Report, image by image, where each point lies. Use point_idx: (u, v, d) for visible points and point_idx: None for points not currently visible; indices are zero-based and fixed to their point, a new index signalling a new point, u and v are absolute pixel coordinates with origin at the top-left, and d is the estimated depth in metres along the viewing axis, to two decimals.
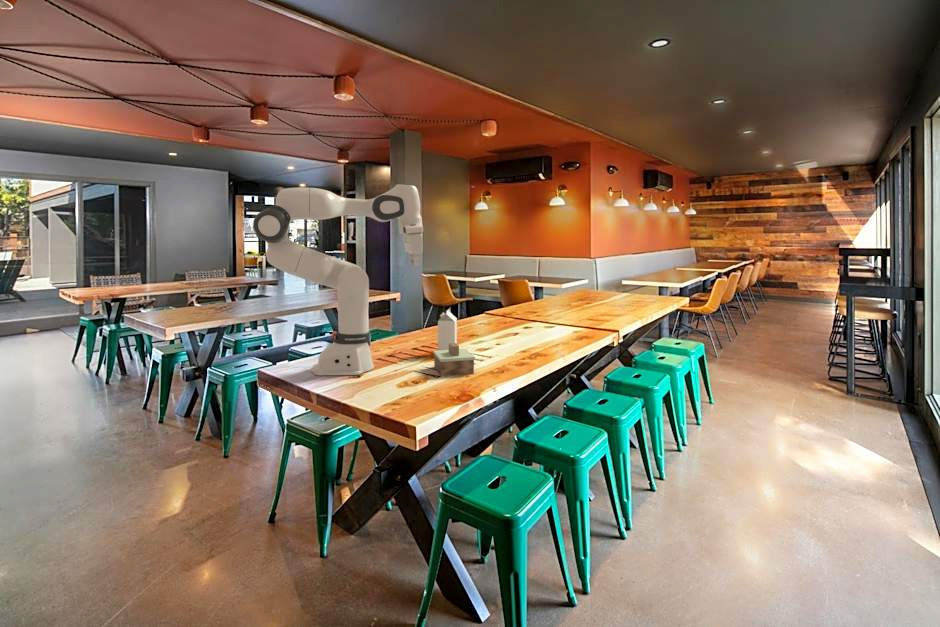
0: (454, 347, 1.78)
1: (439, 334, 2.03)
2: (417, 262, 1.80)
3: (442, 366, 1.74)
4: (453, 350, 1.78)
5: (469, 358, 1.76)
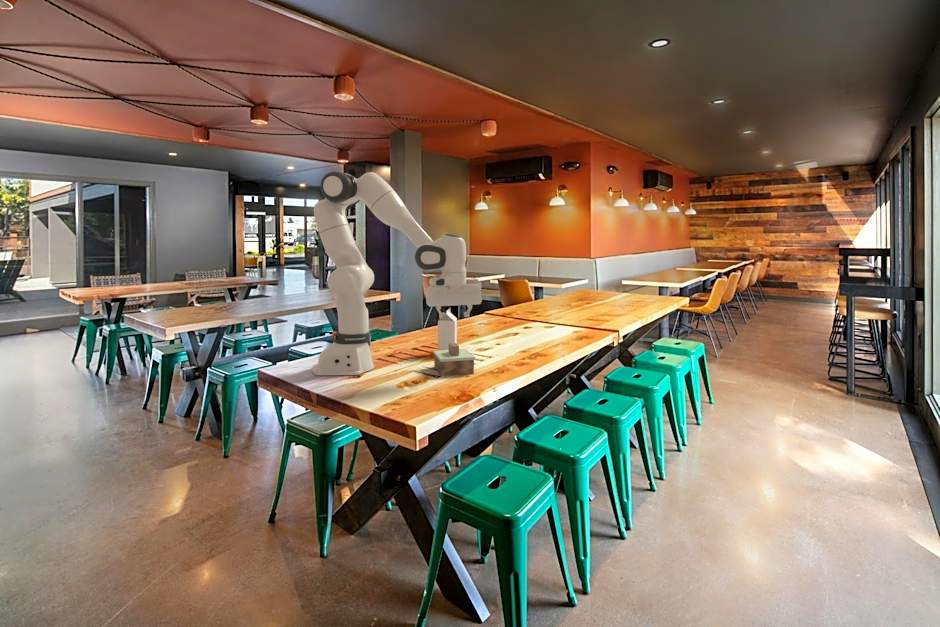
0: (454, 347, 1.78)
1: (439, 334, 2.03)
2: (439, 314, 1.77)
3: (442, 366, 1.74)
4: (453, 350, 1.78)
5: (469, 358, 1.76)
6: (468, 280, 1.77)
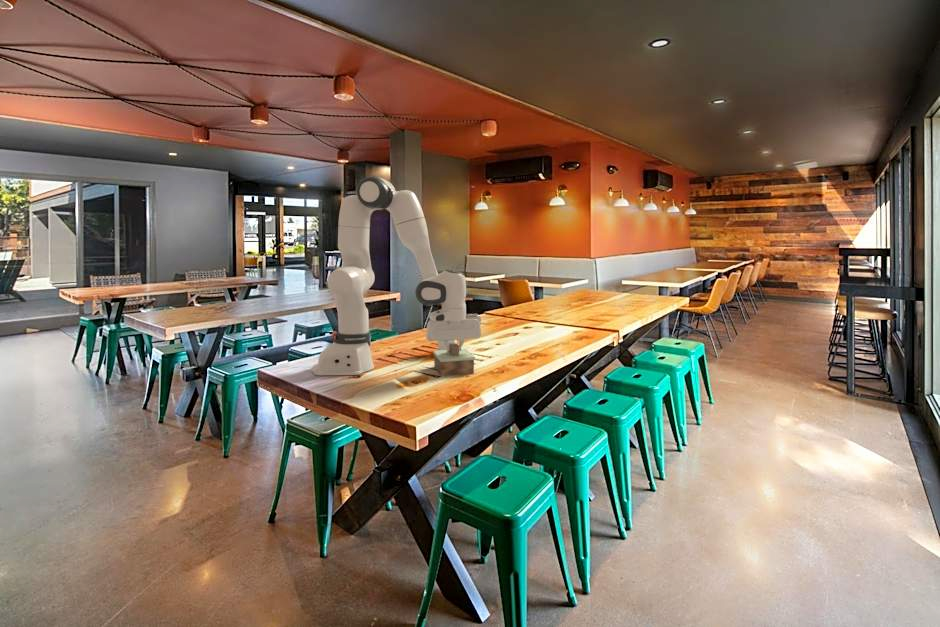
0: (454, 347, 1.78)
1: None
2: (446, 348, 1.80)
3: (442, 366, 1.74)
4: (453, 350, 1.78)
5: (469, 358, 1.76)
6: (468, 315, 1.80)
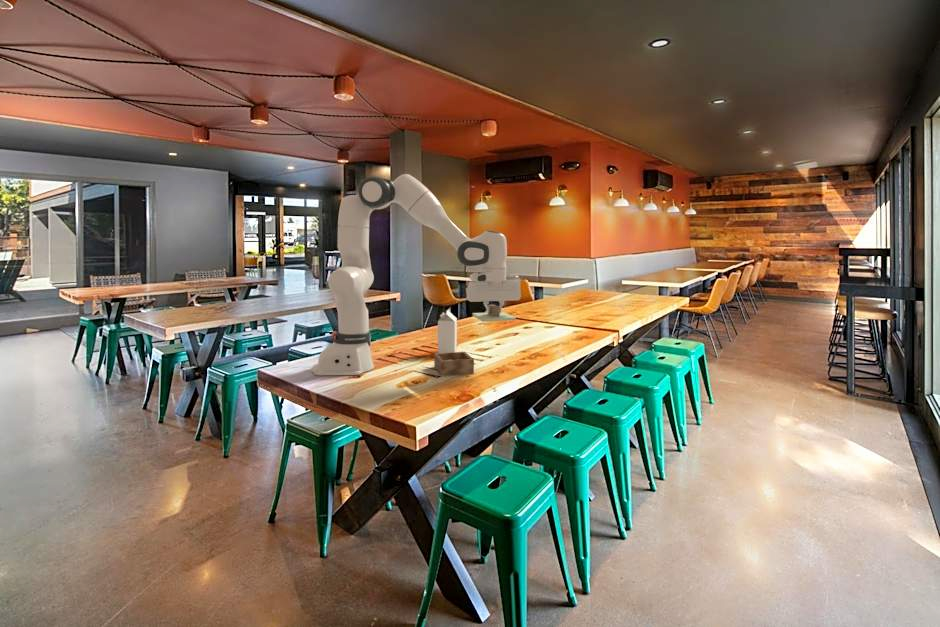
0: (495, 308, 1.78)
1: (439, 334, 2.03)
2: (487, 309, 1.81)
3: (442, 366, 1.74)
4: (494, 311, 1.78)
5: (510, 318, 1.77)
6: (508, 276, 1.80)
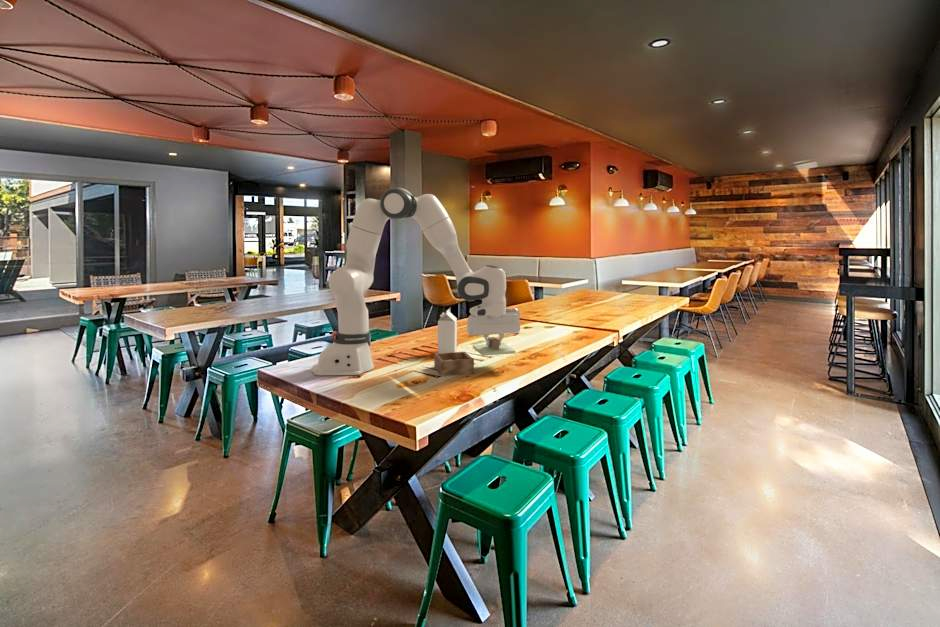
0: (495, 341, 1.80)
1: (439, 334, 2.03)
2: (487, 342, 1.83)
3: (442, 366, 1.74)
4: (494, 344, 1.80)
5: (510, 352, 1.79)
6: (507, 309, 1.83)
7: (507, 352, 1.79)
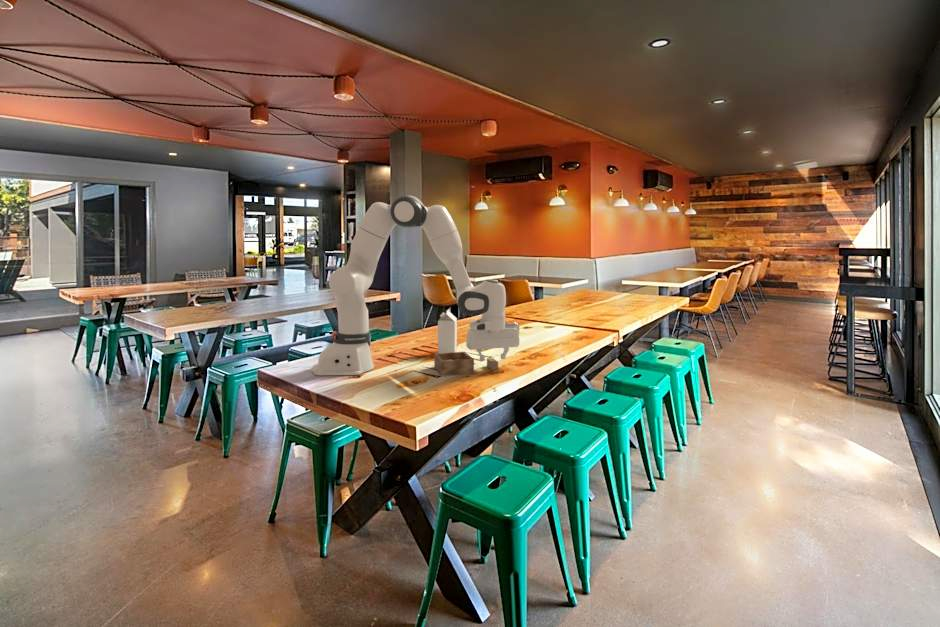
0: (493, 363, 1.82)
1: (439, 334, 2.03)
2: (480, 356, 1.83)
3: (442, 366, 1.74)
4: (492, 366, 1.82)
5: None
6: (507, 324, 1.83)
7: None
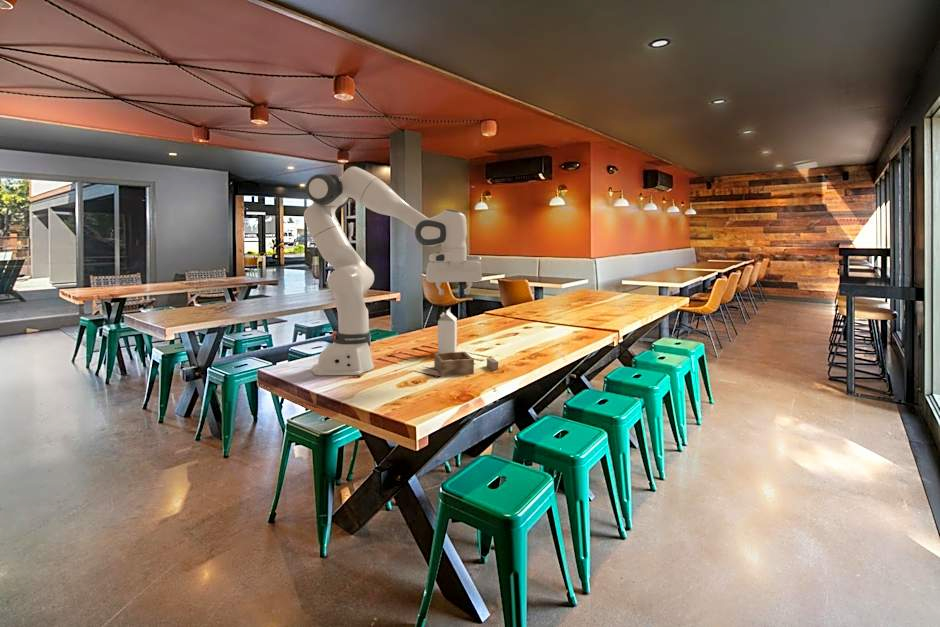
0: (493, 363, 1.82)
1: (439, 334, 2.03)
2: (439, 291, 1.75)
3: (442, 366, 1.74)
4: (492, 366, 1.82)
5: None
6: (468, 257, 1.76)
7: None
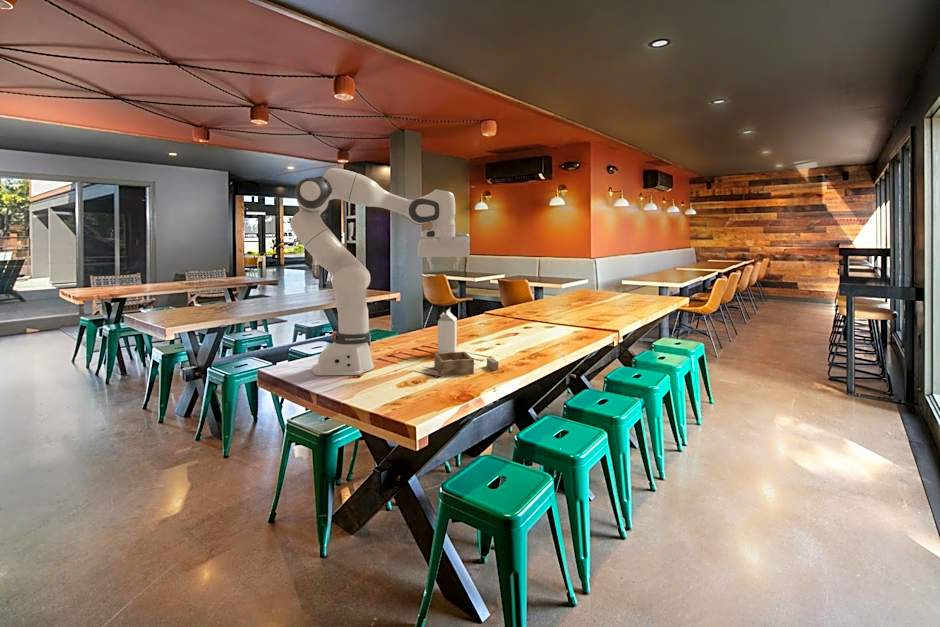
0: (494, 363, 1.82)
1: (439, 334, 2.03)
2: (430, 265, 1.89)
3: (442, 366, 1.74)
4: (493, 366, 1.82)
5: None
6: (457, 234, 1.90)
7: None
